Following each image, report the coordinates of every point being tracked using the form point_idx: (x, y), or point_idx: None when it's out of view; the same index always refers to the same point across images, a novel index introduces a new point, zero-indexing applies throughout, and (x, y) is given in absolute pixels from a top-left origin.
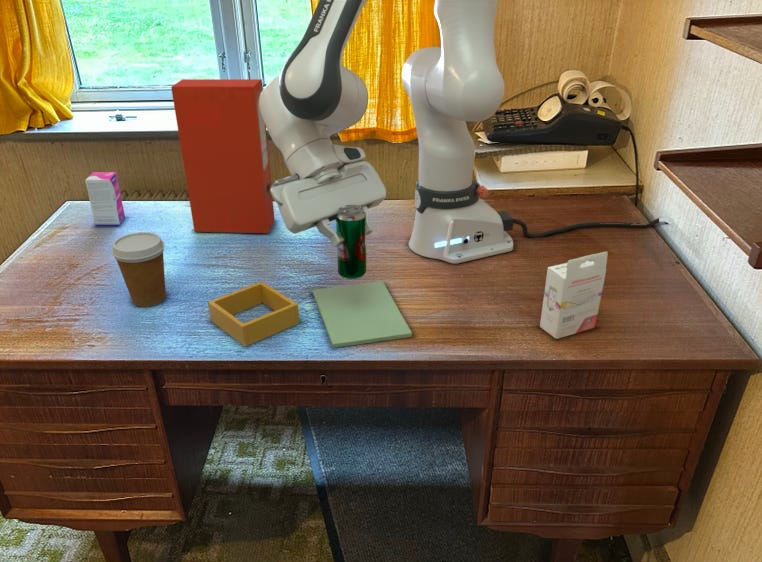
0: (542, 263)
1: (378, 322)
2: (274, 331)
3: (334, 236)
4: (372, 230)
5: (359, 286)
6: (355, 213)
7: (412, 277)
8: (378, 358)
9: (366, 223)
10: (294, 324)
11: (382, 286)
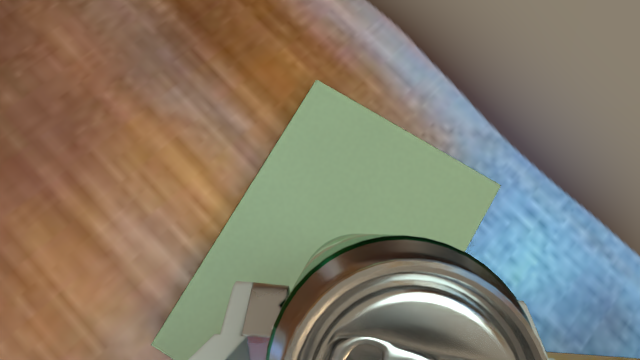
0: None
1: (339, 176)
2: (575, 356)
3: (540, 342)
4: (236, 281)
5: None
6: (441, 295)
7: (60, 305)
8: (442, 76)
9: (246, 327)
10: None
11: (178, 317)
